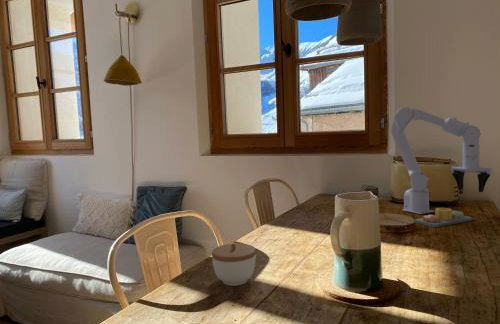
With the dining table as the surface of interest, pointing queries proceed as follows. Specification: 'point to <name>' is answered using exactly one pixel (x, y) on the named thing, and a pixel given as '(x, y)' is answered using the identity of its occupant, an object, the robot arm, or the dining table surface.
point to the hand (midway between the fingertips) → (470, 190)
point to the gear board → (436, 222)
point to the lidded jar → (234, 263)
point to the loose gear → (444, 213)
